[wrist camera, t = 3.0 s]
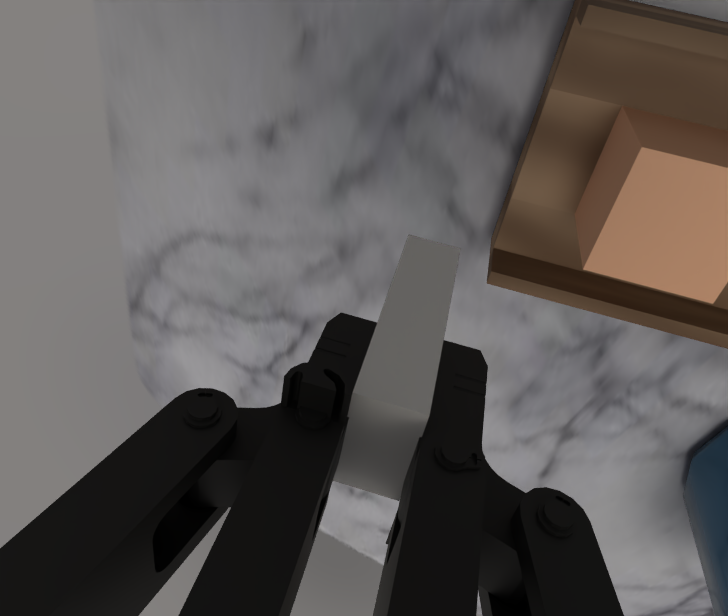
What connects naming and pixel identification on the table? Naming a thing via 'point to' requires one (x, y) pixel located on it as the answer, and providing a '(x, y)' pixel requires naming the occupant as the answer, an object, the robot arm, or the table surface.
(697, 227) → the block
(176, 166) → the table surface
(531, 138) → the trap box
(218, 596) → the robot arm
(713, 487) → the wine bottle
